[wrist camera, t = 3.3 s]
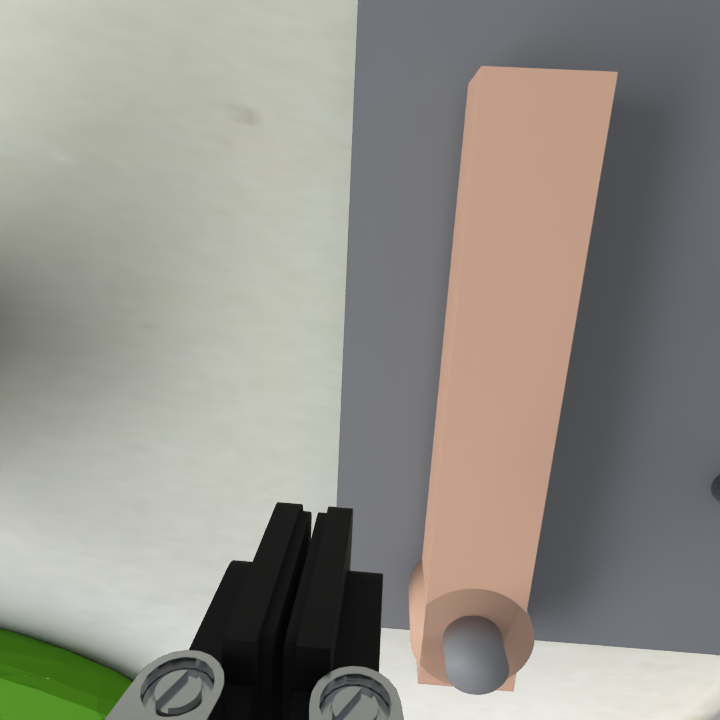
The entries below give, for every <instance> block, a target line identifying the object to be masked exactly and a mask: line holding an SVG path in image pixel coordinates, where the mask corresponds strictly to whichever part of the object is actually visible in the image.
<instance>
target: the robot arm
mask: <svg viewBox="0 0 720 720" xmlns="http://www.w3.org/2000/svg"><path fill="white" fill-rule="evenodd" d="M352 527H353V508H341V507H328V510H327V513H318V515H317V519H316V523H315V526H314V530H313V534H312V538H311V512H307V511H303V505H302V504H292V503H280V502H278V503H277V504H276V506H275V508H274V511H273V513H272V516H271V518H270V521H269V523H268V526H267V528H266V530H265V533H264V535H263V538H262V540H261V543H260V545H259V548H258V550H257V553H256V555H255V557H254V560H253V562H247V561H235V560H233V561H232V562H231V563H230V564H229V566H228V568H227V570H226V572H225V574H224V576H223V579H222V581H221V583H220V585H219V587H218V589H217V591H216V593H215V596H214V598H213V600H212V602H211V604H210V606H209V608H208V610H207V613H206V615H205V617H204V619H203V621H202V623H201V625H200V627H199V630H198V632H197V634H196V636H195V638H194V640H193V642H192V644H191V647H190V649H189V650H184V651H177V652H172V653H169V654H167V655H164V656H162V657H159V658H158V659H156V660H155V661H153V662H152V663H150V664H148V665H147V666H146V667H145V668H144V669H143V670H142V671H141V672H140V673H139V674H138V676H137V677H136V678H135V680H134V681H133V682H132V684H131V685H130V686H129V688H128V689H127V690H126V692H125V693H124V694H123V696H122V697H121V698H120V700H119V701H118V702H117V704H116V705H115V706H114V708H113V709H112V710H111V712H110V713H109V714H108V716H107V717H106V718H105V719H103V720H404V717H403V711H402V706H401V701H400V698H399V695H398V692H397V690H396V688H395V687H394V686H393V684H392V683H391V682H390V681H389V679H387V678H386V677H384V676H383V675H382V674H380V673H379V657H380V635H381V613H382V591H383V573H372V572H360V571H350V565H351V546H352Z"/></svg>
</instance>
